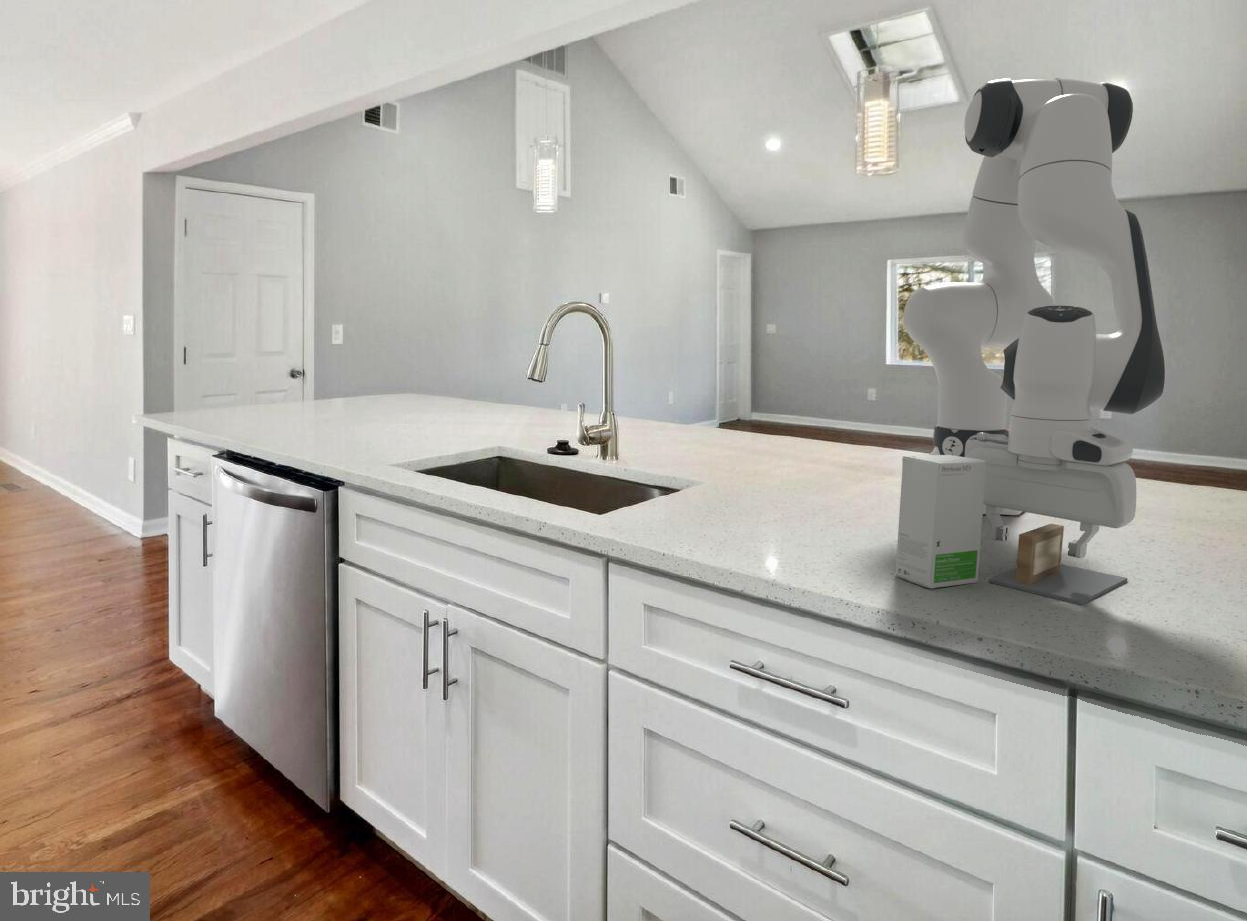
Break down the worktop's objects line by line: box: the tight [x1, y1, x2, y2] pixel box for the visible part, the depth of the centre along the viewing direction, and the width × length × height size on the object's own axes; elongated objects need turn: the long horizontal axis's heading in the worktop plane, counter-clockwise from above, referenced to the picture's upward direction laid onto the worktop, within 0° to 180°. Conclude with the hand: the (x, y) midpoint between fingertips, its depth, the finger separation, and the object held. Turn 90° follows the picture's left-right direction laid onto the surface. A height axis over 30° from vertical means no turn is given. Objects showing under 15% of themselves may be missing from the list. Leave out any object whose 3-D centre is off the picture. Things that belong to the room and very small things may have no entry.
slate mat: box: [987, 563, 1128, 605], centre depth 103 cm, size 14×11×1 cm
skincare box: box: [895, 454, 987, 589], centre depth 103 cm, size 8×7×16 cm
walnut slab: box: [1015, 523, 1065, 585], centre depth 104 cm, size 9×2×6 cm, turn 130°
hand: (1037, 548), depth 104 cm, fingers open, 8 cm apart
